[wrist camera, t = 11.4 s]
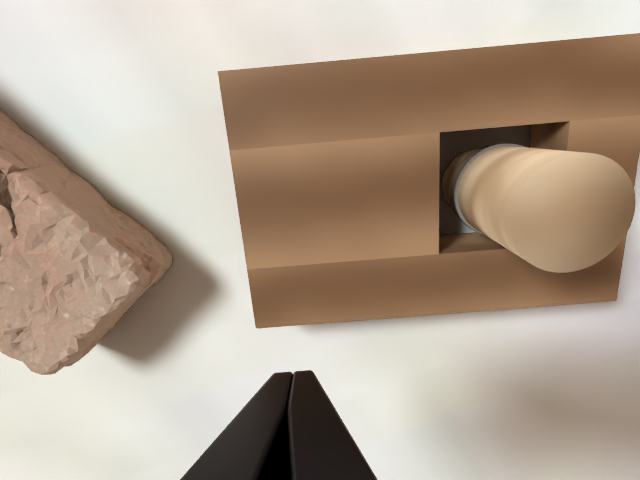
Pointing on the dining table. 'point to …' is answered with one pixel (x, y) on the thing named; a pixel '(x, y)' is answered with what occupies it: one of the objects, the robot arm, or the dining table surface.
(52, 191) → the brick
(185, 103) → the dining table surface
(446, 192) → the peg
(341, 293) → the seat board
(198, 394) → the dining table surface
